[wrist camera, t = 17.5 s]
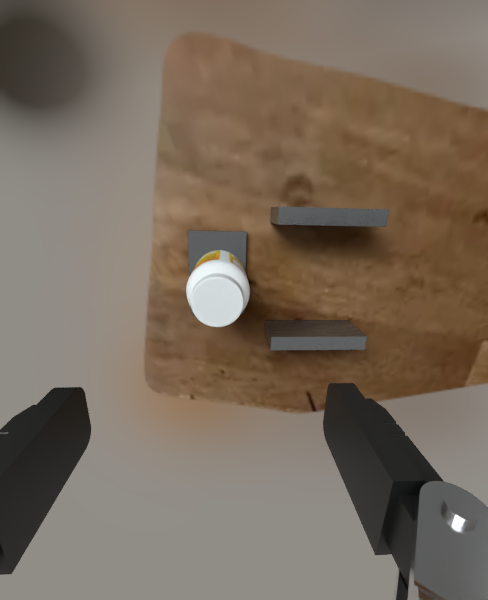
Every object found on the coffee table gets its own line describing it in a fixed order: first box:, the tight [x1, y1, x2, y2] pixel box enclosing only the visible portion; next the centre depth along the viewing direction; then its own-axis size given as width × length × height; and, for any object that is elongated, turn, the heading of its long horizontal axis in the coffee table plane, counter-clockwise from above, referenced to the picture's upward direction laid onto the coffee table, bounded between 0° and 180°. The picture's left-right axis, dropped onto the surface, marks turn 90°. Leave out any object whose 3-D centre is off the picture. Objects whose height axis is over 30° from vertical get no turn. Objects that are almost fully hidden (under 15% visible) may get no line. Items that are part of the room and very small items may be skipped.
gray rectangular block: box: [188, 231, 247, 314], centre depth 30 cm, size 6×9×1 cm, turn 179°
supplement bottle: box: [186, 250, 250, 327], centre depth 25 cm, size 5×5×10 cm
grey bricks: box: [265, 207, 389, 350], centre depth 29 cm, size 10×14×4 cm
